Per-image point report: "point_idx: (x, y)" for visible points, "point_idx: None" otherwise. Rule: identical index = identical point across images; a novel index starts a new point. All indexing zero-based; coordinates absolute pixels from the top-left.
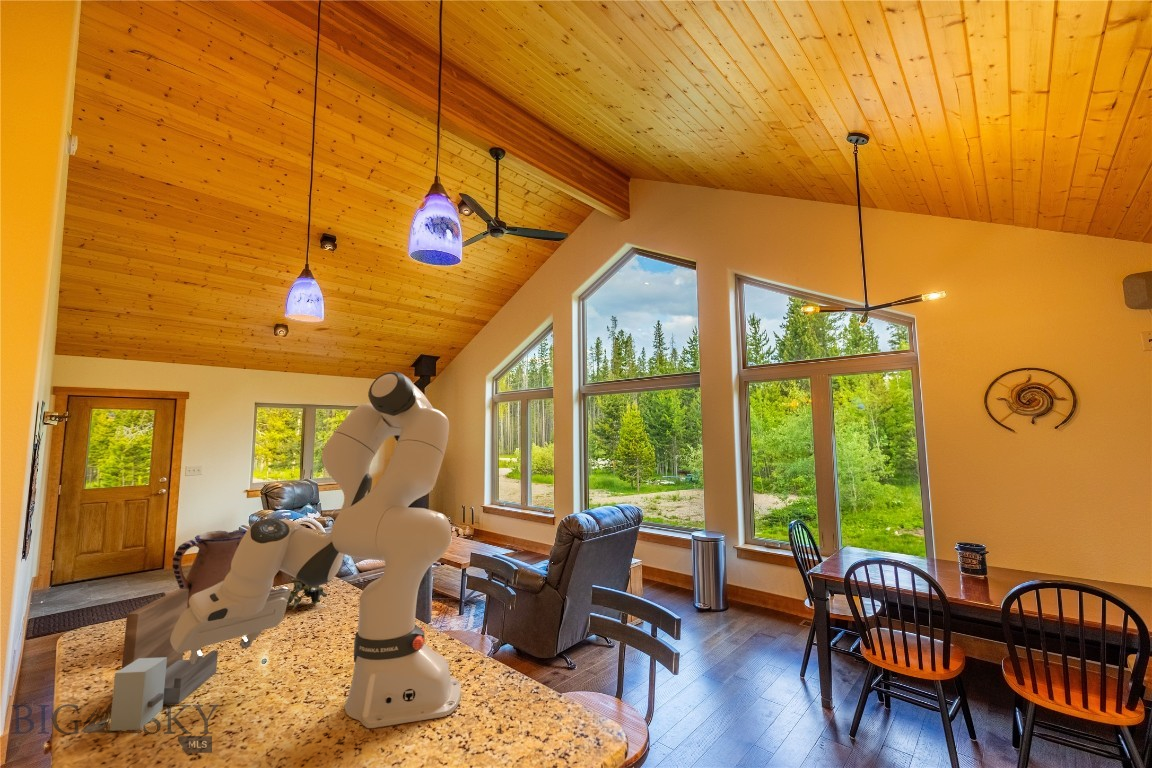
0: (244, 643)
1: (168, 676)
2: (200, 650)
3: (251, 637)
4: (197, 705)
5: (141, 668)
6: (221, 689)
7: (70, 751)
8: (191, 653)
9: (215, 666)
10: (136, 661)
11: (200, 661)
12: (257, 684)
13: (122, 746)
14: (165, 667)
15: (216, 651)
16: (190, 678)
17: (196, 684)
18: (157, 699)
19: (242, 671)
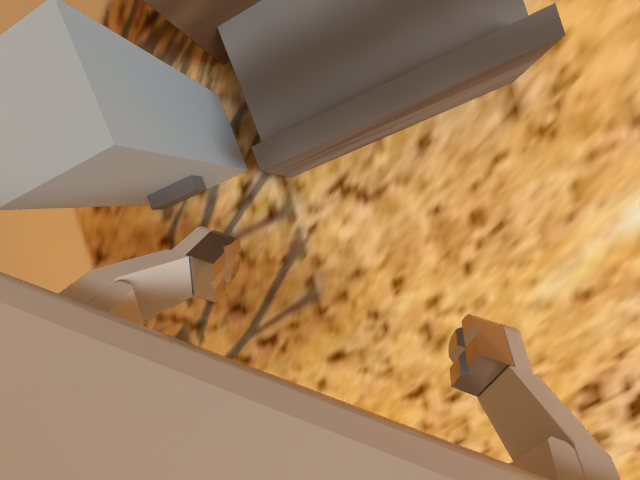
0: (454, 369)
1: (327, 28)
2: (211, 272)
3: (498, 414)
4: (299, 242)
5: (1, 155)
6: (399, 227)
7: None
8: (179, 245)
9: (514, 75)
10: (30, 31)
11: (236, 272)
12: (460, 320)
13: (120, 238)
14: (152, 153)
15: (548, 41)
16: (329, 147)
17: (376, 137)
18: (176, 199)
19: (548, 180)
